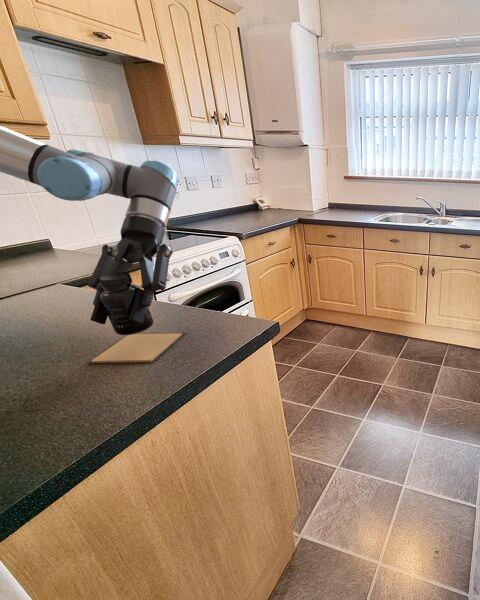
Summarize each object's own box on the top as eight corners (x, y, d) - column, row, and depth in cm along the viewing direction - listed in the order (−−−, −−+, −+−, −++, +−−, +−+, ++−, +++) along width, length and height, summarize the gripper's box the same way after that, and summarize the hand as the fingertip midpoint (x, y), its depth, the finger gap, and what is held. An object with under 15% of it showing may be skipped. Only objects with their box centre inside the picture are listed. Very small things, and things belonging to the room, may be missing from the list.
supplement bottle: (131, 320, 75) (112, 269, 70) (161, 321, 75) (144, 270, 70) (106, 336, 69) (83, 281, 64) (138, 336, 69) (118, 281, 64)
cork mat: (91, 363, 68) (90, 361, 68) (130, 335, 78) (129, 334, 78) (151, 362, 68) (150, 360, 68) (182, 335, 78) (181, 333, 78)
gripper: (199, 232, 79) (178, 326, 71) (114, 233, 79) (83, 327, 71) (180, 213, 72) (154, 315, 64) (86, 214, 72) (48, 316, 64)
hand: (116, 321), depth 67 cm, fingers closed on supplement bottle, 7 cm apart
